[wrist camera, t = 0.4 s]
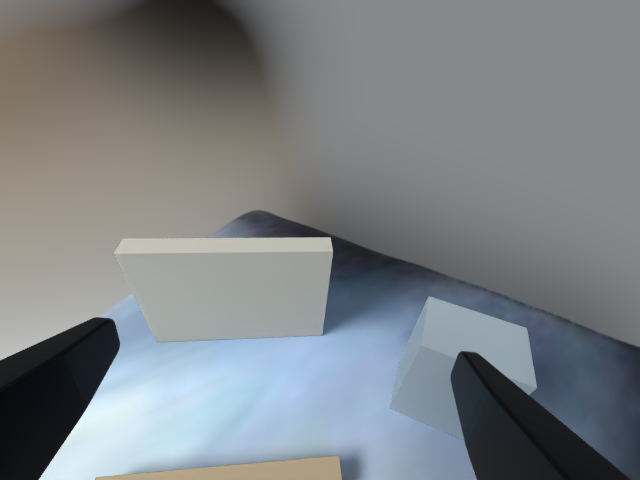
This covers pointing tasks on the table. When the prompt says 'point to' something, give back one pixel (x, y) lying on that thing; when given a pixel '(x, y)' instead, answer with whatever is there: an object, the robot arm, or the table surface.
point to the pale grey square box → (440, 355)
